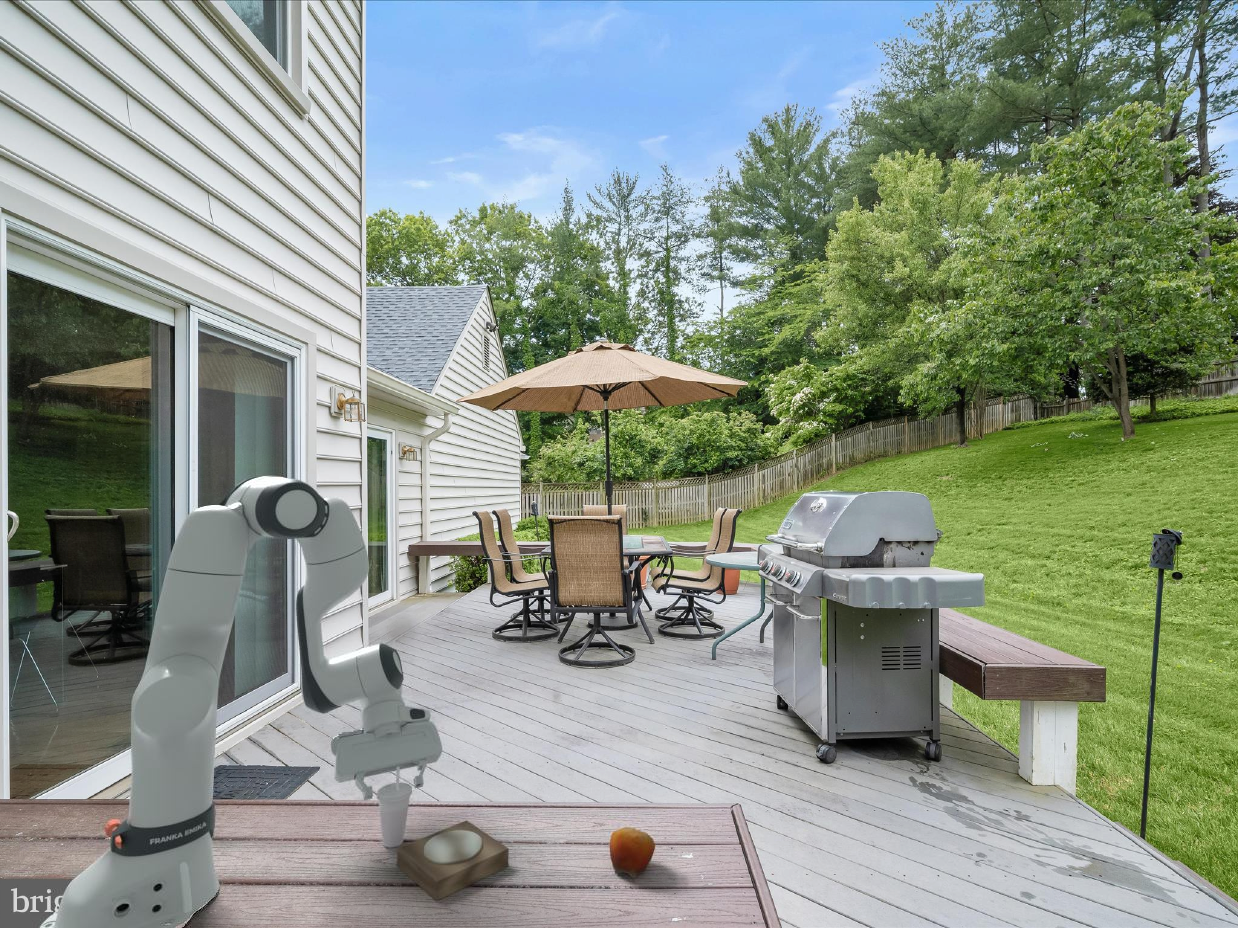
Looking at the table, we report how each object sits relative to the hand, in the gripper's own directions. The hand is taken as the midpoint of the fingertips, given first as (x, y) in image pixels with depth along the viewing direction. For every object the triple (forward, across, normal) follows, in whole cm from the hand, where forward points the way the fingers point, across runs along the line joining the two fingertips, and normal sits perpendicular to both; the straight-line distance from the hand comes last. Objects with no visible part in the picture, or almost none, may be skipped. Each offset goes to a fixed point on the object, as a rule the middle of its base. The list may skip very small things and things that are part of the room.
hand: (394, 792), depth 118 cm
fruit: (+29, +34, -16) cm, 47 cm away
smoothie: (+7, 0, +6) cm, 9 cm away
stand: (+16, +7, -4) cm, 18 cm away
